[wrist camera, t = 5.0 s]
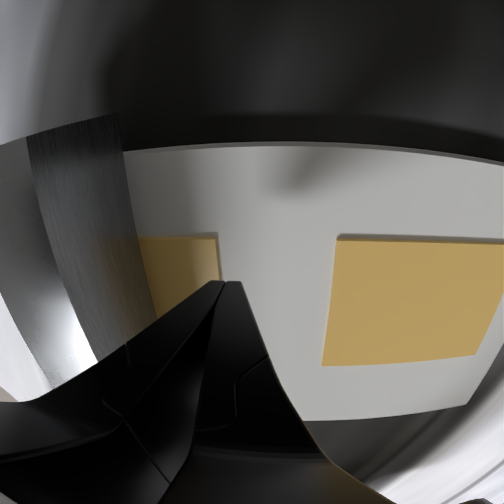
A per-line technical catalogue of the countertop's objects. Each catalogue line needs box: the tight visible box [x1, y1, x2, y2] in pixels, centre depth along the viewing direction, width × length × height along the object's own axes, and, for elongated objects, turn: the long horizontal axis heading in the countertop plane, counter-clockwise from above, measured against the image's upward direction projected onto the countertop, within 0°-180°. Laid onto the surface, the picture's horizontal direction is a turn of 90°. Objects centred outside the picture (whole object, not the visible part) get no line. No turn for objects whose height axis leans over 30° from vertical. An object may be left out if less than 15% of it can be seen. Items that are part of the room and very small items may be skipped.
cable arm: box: [0, 113, 157, 389], centre depth 11 cm, size 17×4×4 cm, turn 3°
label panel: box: [123, 141, 504, 421], centre depth 13 cm, size 15×24×2 cm, turn 93°
